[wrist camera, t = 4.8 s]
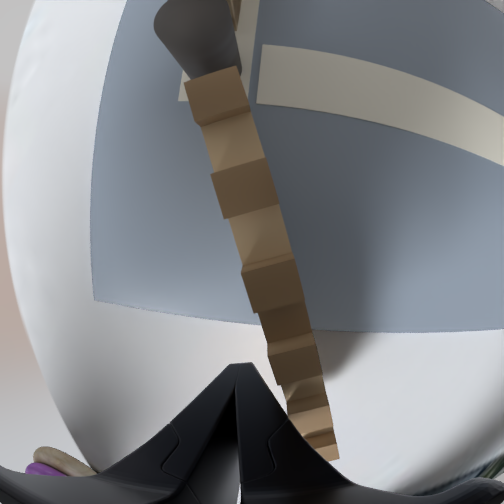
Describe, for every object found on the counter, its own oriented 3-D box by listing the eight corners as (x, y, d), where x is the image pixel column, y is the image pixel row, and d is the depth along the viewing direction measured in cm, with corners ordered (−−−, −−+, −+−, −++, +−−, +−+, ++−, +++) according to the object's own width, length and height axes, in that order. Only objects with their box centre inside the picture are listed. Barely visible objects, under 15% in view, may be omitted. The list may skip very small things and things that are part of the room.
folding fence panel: (208, 109, 8) (181, 75, 5) (244, 98, 8) (233, 58, 5) (298, 409, 11) (305, 466, 8) (326, 402, 11) (339, 458, 8)
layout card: (509, 21, 7) (513, 19, 6) (501, 326, 11) (505, 329, 10) (155, -58, 7) (153, -62, 7) (97, 297, 11) (93, 300, 11)
